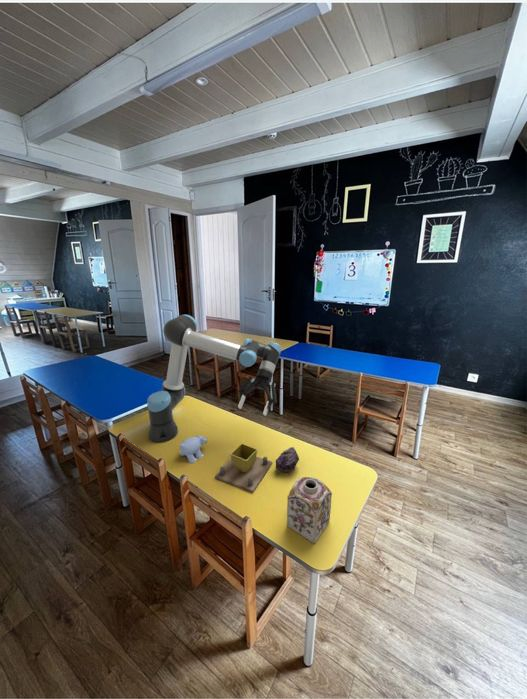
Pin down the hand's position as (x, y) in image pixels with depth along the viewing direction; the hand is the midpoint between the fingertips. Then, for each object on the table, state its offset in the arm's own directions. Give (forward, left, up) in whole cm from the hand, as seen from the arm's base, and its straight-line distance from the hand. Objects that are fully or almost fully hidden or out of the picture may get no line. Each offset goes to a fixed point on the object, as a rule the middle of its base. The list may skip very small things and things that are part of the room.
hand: (251, 411), depth 133 cm
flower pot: (+3, -14, -21) cm, 25 cm away
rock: (+21, -3, -22) cm, 31 cm away
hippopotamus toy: (-25, -14, -22) cm, 37 cm away
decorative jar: (+37, -27, -22) cm, 51 cm away
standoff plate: (+3, -14, -22) cm, 26 cm away
